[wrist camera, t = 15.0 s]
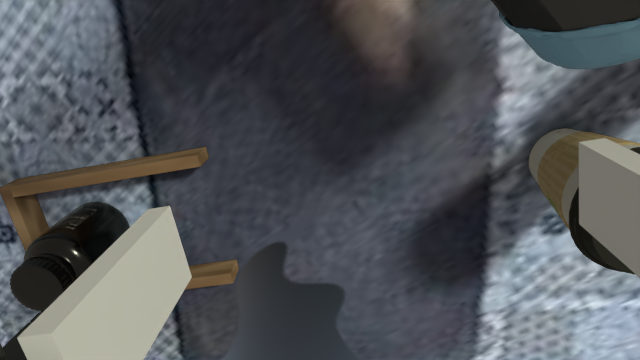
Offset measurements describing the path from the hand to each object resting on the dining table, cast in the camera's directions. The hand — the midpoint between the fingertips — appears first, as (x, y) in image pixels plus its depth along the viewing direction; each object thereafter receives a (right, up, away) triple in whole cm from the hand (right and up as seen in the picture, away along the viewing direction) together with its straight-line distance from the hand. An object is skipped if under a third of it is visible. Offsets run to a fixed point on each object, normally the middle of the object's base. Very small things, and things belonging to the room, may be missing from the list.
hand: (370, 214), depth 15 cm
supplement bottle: (-26, -4, +37) cm, 45 cm away
